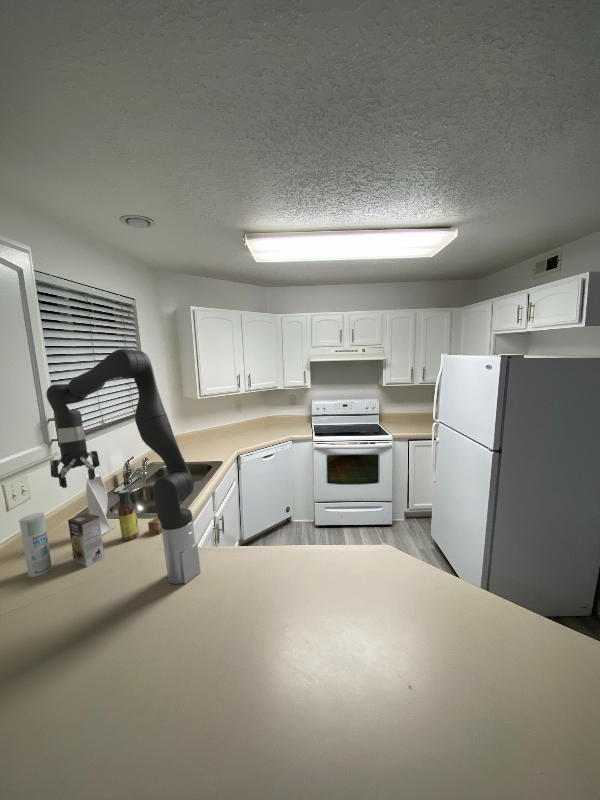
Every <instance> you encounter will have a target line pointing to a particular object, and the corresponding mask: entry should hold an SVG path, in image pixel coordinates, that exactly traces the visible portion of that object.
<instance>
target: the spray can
mask: <svg viewBox="0 0 600 800" xmlns="http://www.w3.org/2000/svg"><path fill="white" fill-rule="evenodd" d="M19 527H20V533H21V539H22V545H23V550H24V551H23V552H24V557H25V563H26V567H27V575H28V577H29V578H34V577H39V576H41V575H44V574H46V573H48V572H50V570H51V569H52V559H51V551H50V545H49V544H50V543H49V537H48V530H47V523H46V516H45V512H36V513H31V514H28V515H25V516H23V517H22V518H19Z"/></svg>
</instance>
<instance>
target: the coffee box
mask: <svg viewBox="0 0 600 800" xmlns="http://www.w3.org/2000/svg"><path fill="white" fill-rule="evenodd" d="M67 522H68V529H69V535H70V541H71V544H70V545H71V550H72V556H73V561H74V563H77V564H78V565H81V566H83V567H86V568H87V567H90V566H92V565H93V564H96V563H97V562H99V561H101V560H103V559H105V551H104V545H103V544H104V543H103V535H102V534H101V526H100V519H99V516H96V515H92V514H90V512H89V513H88V512H85V513H83V514H78V515H77V516H73V517H72V518H69V519H68V520H67Z"/></svg>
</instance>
